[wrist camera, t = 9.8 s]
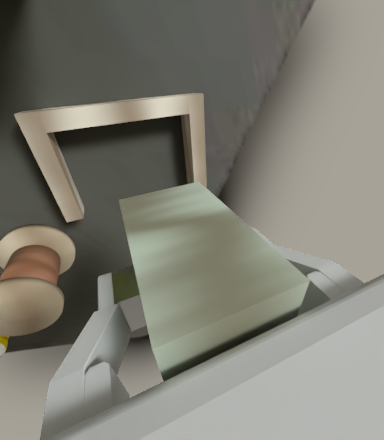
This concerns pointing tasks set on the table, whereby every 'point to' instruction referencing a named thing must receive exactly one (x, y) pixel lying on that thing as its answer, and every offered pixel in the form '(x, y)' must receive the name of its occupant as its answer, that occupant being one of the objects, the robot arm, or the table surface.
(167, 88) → the table surface
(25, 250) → the bobbin
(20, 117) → the beige u-shaped bracket
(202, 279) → the block
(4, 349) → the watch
